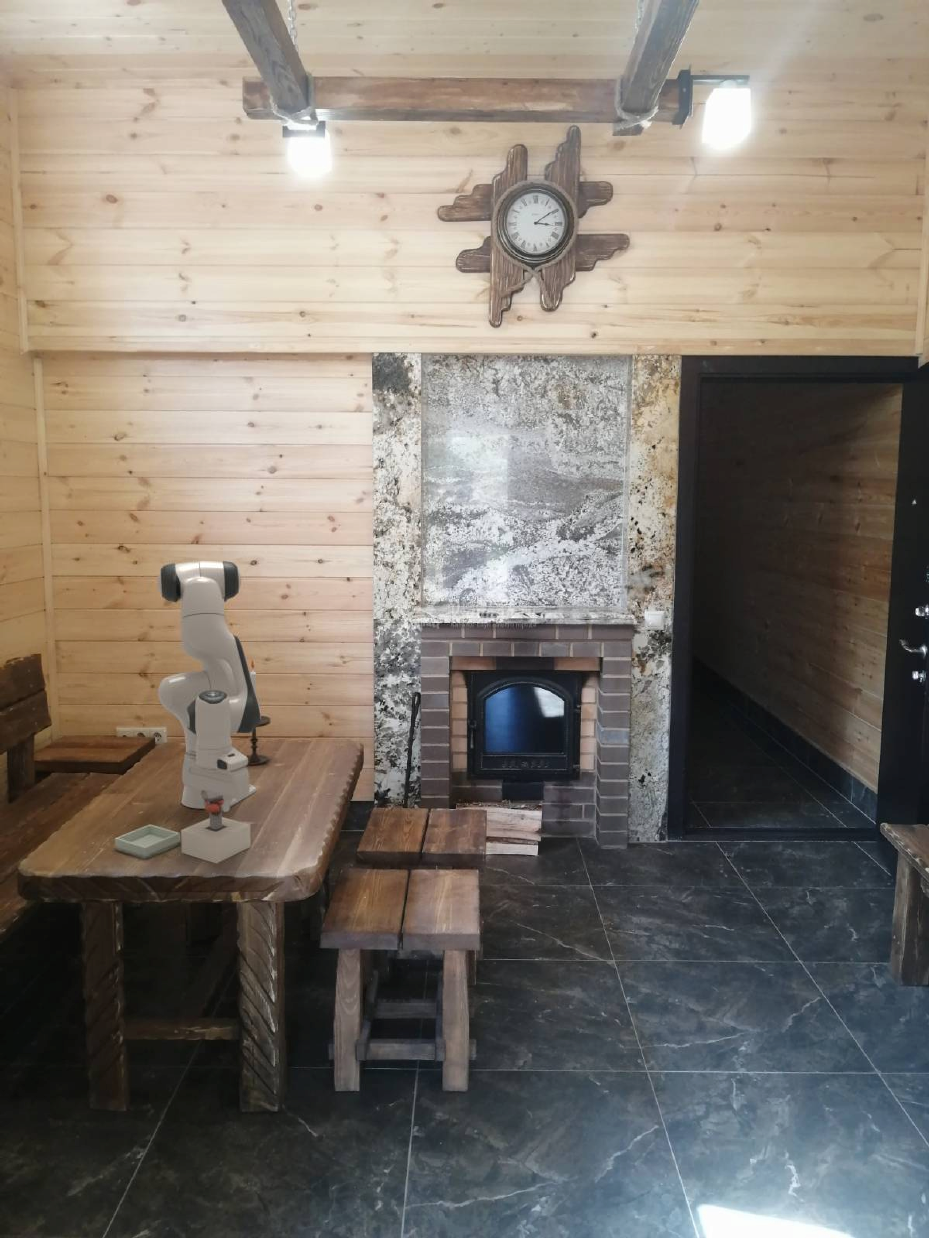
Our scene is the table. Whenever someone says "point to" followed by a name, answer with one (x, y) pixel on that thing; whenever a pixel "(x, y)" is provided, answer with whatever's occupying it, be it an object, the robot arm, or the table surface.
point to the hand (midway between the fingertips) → (215, 808)
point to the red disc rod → (215, 812)
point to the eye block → (215, 840)
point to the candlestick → (254, 757)
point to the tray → (147, 841)
